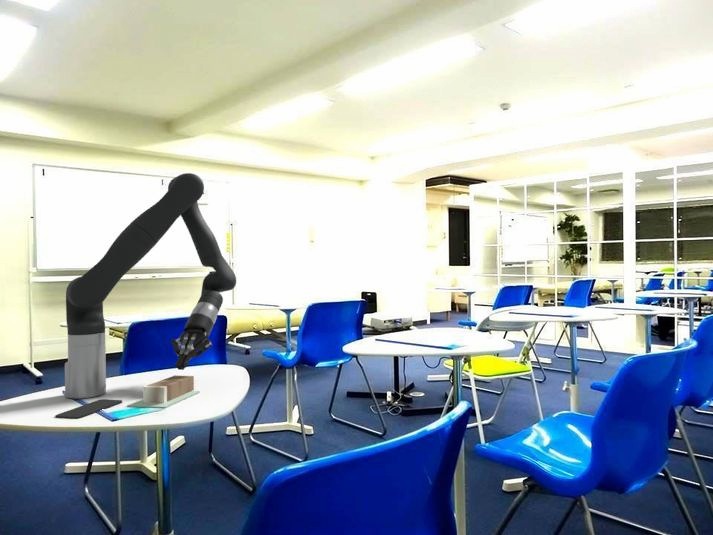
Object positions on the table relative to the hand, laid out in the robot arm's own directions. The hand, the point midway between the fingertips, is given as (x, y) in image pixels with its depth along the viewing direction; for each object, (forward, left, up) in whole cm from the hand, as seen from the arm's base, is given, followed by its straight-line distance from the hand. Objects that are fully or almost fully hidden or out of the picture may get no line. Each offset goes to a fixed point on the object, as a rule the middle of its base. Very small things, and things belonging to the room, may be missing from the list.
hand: (179, 368), depth 136 cm
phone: (-19, -13, -7) cm, 24 cm away
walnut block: (+1, +2, -5) cm, 5 cm away
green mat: (-2, -7, -7) cm, 10 cm away
